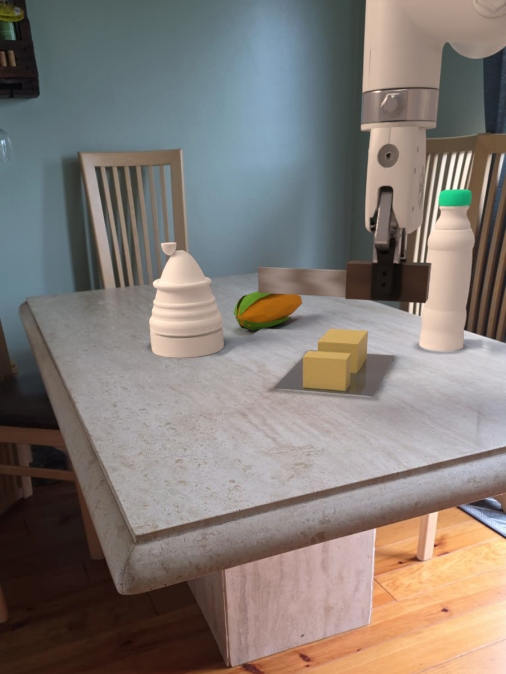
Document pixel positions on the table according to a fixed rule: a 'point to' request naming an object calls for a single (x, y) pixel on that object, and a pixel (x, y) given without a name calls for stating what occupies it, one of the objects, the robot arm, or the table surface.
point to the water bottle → (448, 274)
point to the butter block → (346, 345)
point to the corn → (265, 309)
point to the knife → (344, 281)
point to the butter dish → (360, 383)
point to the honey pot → (184, 310)
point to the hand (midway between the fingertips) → (387, 295)
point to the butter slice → (326, 370)
